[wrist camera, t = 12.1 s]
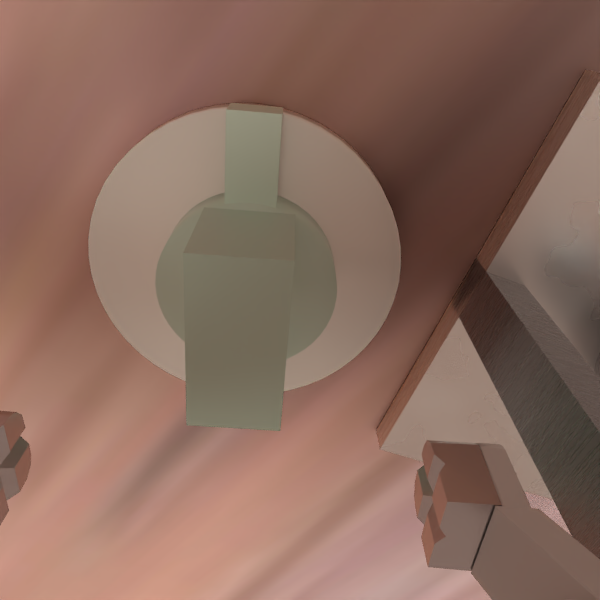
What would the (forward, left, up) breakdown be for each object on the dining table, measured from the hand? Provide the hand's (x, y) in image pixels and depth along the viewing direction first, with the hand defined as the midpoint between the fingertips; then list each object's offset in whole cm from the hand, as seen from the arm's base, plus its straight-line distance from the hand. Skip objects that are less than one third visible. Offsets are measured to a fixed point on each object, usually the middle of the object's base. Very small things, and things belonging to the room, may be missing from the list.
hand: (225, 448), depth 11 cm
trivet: (0, 0, -10) cm, 10 cm away
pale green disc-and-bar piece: (0, 0, -9) cm, 9 cm away
